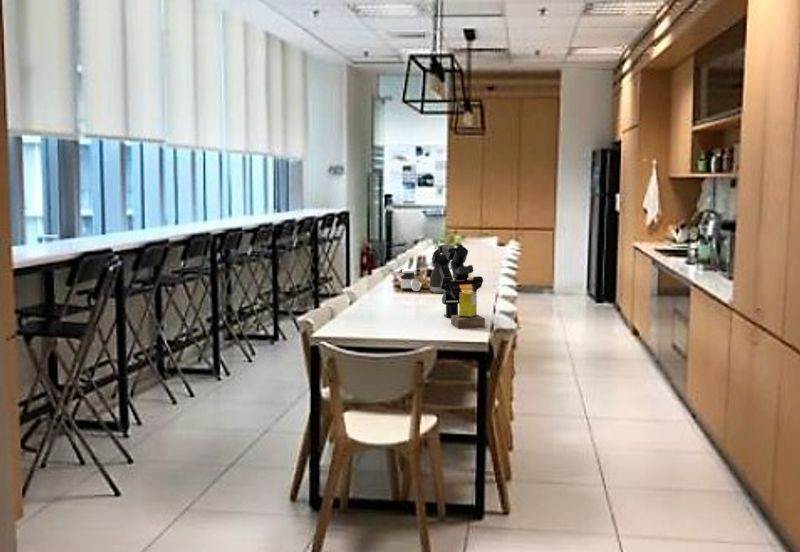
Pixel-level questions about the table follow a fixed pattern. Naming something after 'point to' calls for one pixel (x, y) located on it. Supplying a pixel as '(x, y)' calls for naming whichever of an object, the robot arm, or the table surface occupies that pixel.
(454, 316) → the walnut plinth
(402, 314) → the table surface
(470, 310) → the supplement box
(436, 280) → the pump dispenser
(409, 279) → the spread jar
